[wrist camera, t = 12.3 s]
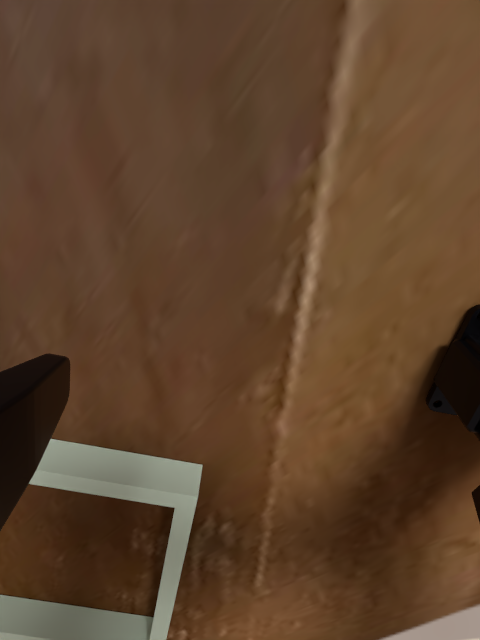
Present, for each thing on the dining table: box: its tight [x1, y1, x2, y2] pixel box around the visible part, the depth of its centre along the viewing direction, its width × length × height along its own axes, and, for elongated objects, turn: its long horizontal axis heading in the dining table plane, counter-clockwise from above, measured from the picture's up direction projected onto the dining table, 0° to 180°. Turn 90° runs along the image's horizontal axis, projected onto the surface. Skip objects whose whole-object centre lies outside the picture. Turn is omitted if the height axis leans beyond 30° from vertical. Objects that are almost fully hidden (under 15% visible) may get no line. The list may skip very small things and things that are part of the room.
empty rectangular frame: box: [0, 439, 203, 640], centre depth 29 cm, size 18×18×2 cm
